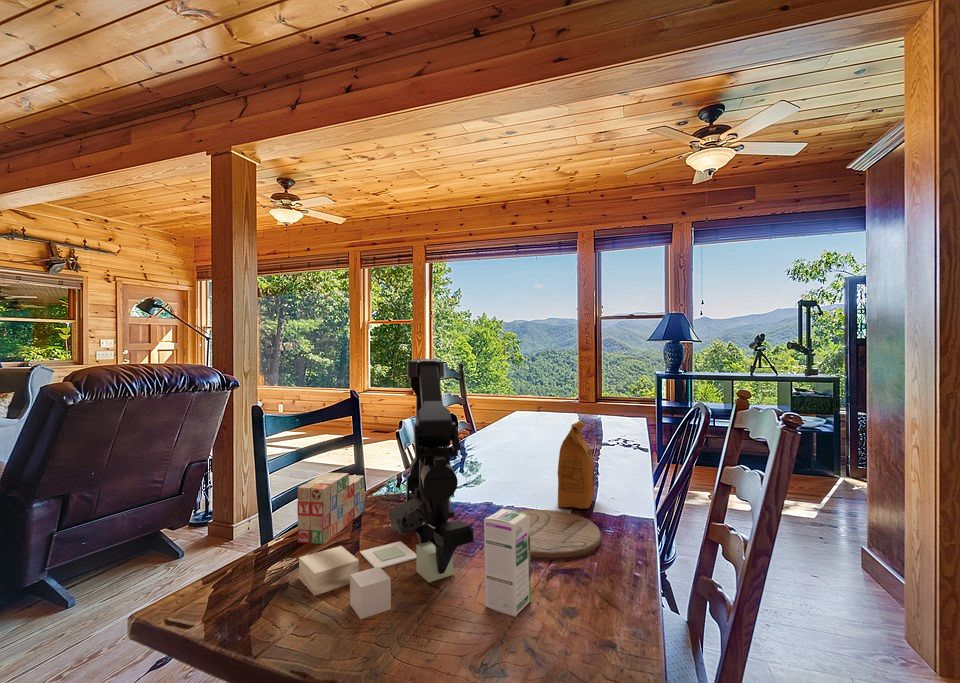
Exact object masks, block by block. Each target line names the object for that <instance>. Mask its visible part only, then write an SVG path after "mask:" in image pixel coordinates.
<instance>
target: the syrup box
mask: <svg viewBox="0 0 960 683" xmlns="http://www.w3.org/2000/svg"><path fill="white" fill-rule="evenodd" d="M520 511H521V510H514V509H507V508H501V509H499V510H498V511H496V512H494V513H493V514H490V515H489V516H487V517H485V518H484V519H483V533H484V534H483V535H484V536H483V541H484V543H483V544H484V545H483V546H484V550H483V551H484V552H483V553H484V592H485V593H484V596H485V597H484V602H485V603H484V605H485V607H487V608H489V609H491V610H493V611H496V612H498V613H502V614H504V615H505V614H506V615H508V616H511V617H514V618H516V617H517V616H518V614H519V613H520V612H521V611H522V610H523V609H525V607H526V606H527V605H528V604H529V603H530V602H531V601H532V573H531V572H532V570H531V569H532V568H531V567H532V566H531V565H532V564H531V556H530V515H529V514H527V513H523V512H520Z"/></svg>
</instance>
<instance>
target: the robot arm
mask: <svg viewBox="0 0 960 683" xmlns="http://www.w3.org/2000/svg"><path fill="white" fill-rule="evenodd" d="M444 378H445V362H444V361H440V359H438V358H412V360H411V361H408V362H407V364H406V379H409V385H410V387H411V389H412V391H413V393H414V394H415V396H416V397H415V399H416V400H415V410H416V411H415V412H416V413H415V417H416V418H415V419H416V420H415V423H413V443H414V457H413V459H412V461H411V463H410V464H409V471H408V472H409V473H408V474H406V482H405V484H406V485H405V497H406V501H404V502H403V503H401V504H399V505H397V506H396V507H394V508H392V509H391V510H389V512H388V516H389V519H390V522H391V525H392V527H393V529H394V530H395V531H397V532H398V533H399V534H400V536H401V535H402V536H405V535H407V534H410V532H411V531H414V532H415V534H416V537H417V539H418V542H419V543H418V544H421V543H425V542H431V543H432V544H433V545H434V546H435V549H436V559H437V567H438V573H439V574H442V573H444V572H445V570H446V568H447V566H448V564H449V562H450V560H451V558H452V555H453V556H454V553H455V551H456V550H457V548H458V547H459V546H463V545H467V544H470V543H474V541H475V529H474V528H473V527H472V526H471V525H470V524H468V523H466V522H464V521H463V520H461V519H456V520H453V521H449V519H451V518H453V519H454V518H455V511H454V510H452V509H450V508H451V506H450V504H451V499H450V498H451V497H452V496H454V495H455V492H456V491H457V487H458V477H457V475H456V472H455V471H454V469H453V467H452V464H451V461H450V460H451V459H450V458H452V457H455V458H456V457H459V451H461V442H460V441H461V440H460V434H459V430H458V429H459V428H458V427H457V425H456V422H455V421H453V420H452V415H451V411H450V409H448V408H447V407H446V406H445V405H444V403H443V398H442V389H441V379H444Z"/></svg>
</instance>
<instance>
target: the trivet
mask: <svg viewBox="0 0 960 683" xmlns="http://www.w3.org/2000/svg"><path fill="white" fill-rule="evenodd" d="M519 511H520V512H523V513H527V514H529V515H530V556H531V559H532V560H537V561H539V560H540V561H542V560H543V561H563V560H572V559H576V558H577V559H578V558H581V557H584V556H586V555H589V554H590V553H591V554H592V553H593V552H594V551H596V550H597V549H598V548H599V547H600V544H601V541H600V540H601V536H602V535H601V531H600V529H599V527H598V525H596V524H595V523H594V522H592V521H591V520H588V519H587V518H585V517H582V516H579V515H577V514H574V513H570V512H565V511H560V510H554V509H553V510H552V509H551V510H550V509H521V510H519ZM598 546H599V547H598ZM597 547H598V548H597Z"/></svg>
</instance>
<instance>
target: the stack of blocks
mask: <svg viewBox="0 0 960 683" xmlns="http://www.w3.org/2000/svg"><path fill="white" fill-rule="evenodd" d="M365 490H366V488H365V475H355V474H354V475H349V473H348V472H347V473H346V472H345V473H344V472H324V473H323V474H320V475H319V476H316V477H315V478H313V479H311V480H309V481H307V482H306V483H304V484H301V485H300V486H299V485H298V487H297V509H296V510H297V511H296V512H297V543H301V544H316V545H324V544H326V543H327V542H328V541H330V539H332V538H333V537H335V536H336V535H337V534H338V533H340V532H341V531H342V530H343V529H344V528H346V526H348V525H349V524H351V522H352V521H354V520H356V518H358V517H359V516H360V515H362V514H363V513H364V511H366V510H365V509H366V506H365V505H366V504H365V503H366V501H365V500H366V499H365V498H366V497H365V496H366V491H365Z"/></svg>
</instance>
